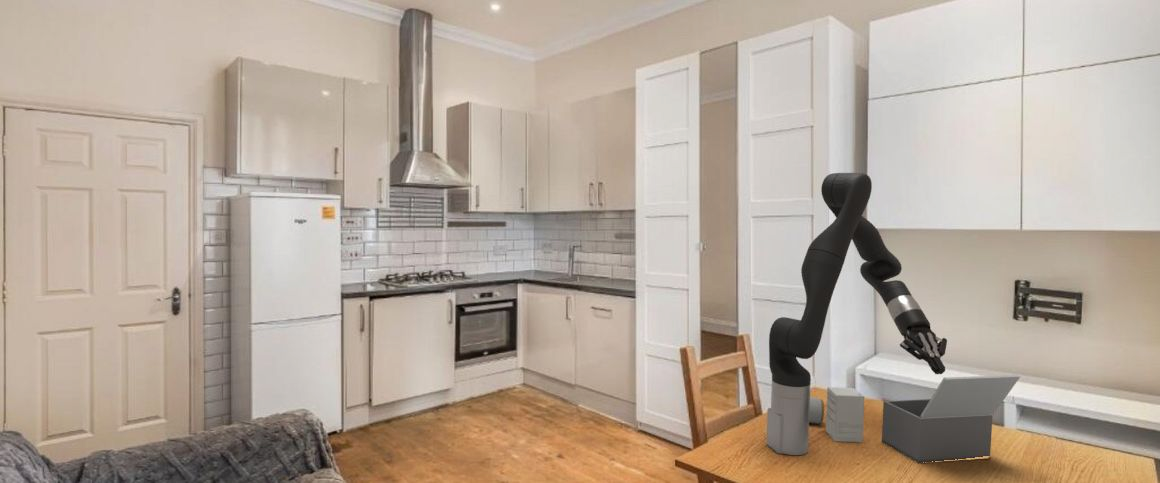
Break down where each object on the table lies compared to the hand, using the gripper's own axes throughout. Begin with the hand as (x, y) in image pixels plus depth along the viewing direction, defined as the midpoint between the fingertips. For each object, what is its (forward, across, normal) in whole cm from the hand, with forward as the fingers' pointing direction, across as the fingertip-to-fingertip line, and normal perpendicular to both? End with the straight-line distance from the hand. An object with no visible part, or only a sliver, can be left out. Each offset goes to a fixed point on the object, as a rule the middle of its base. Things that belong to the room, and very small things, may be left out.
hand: (940, 372), depth 144 cm
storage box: (+14, 0, +15) cm, 20 cm away
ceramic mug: (-3, -22, +32) cm, 39 cm away
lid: (+8, 0, -4) cm, 9 cm away
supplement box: (+6, -18, +23) cm, 30 cm away
